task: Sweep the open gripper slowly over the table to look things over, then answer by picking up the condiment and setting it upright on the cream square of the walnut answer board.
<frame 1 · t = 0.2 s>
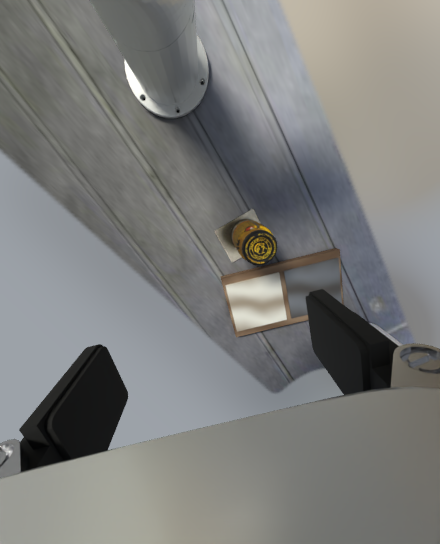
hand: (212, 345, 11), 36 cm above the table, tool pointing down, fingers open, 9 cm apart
condiment: (241, 236, 45), on the table
answer board: (282, 292, 49), on the table
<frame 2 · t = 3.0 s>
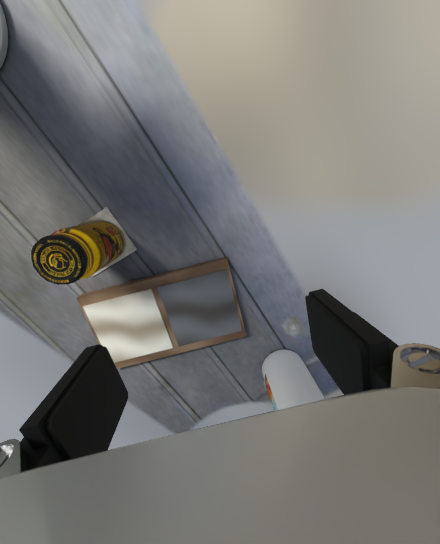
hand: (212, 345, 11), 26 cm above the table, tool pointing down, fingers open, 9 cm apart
milk bottle: (281, 364, 44), on the table
condiment: (100, 242, 35), on the table
answer board: (167, 313, 39), on the table
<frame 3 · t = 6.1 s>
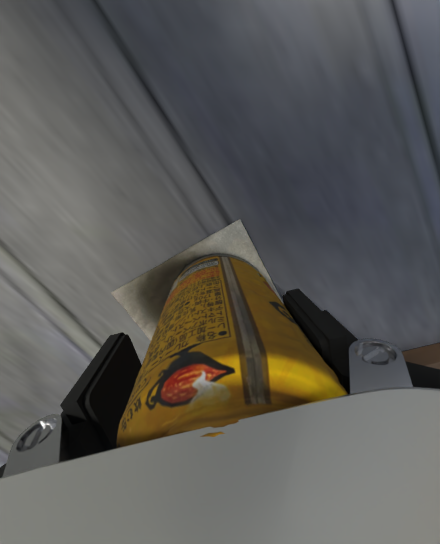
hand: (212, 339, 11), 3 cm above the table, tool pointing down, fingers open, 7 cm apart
condiment: (206, 304, 14), on the table, touching gripper
answer board: (327, 441, 18), on the table
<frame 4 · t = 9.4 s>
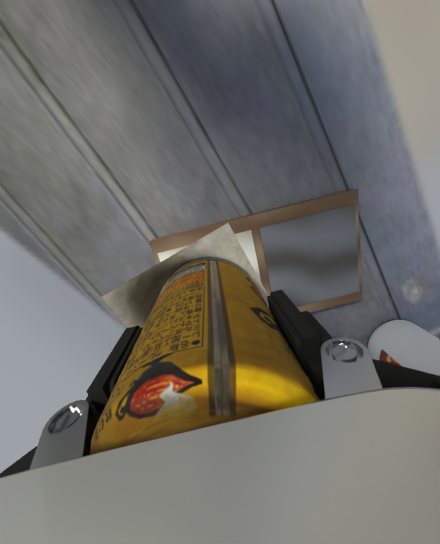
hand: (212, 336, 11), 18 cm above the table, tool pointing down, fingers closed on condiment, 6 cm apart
milk bottle: (389, 339, 35), on the table
condiment: (197, 307, 14), point 15 cm above the table, touching gripper
answer board: (260, 269, 30), on the table
when the fingers open (6 cm above the table, at t = 12.4 s): condiment stays where it is, resting on answer board.
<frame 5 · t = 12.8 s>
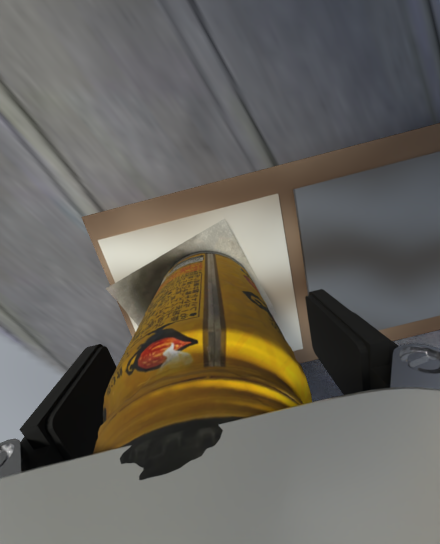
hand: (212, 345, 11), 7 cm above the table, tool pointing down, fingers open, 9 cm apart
condiment: (195, 298, 15), point 2 cm above the table, touching answer board
answer board: (290, 269, 17), on the table
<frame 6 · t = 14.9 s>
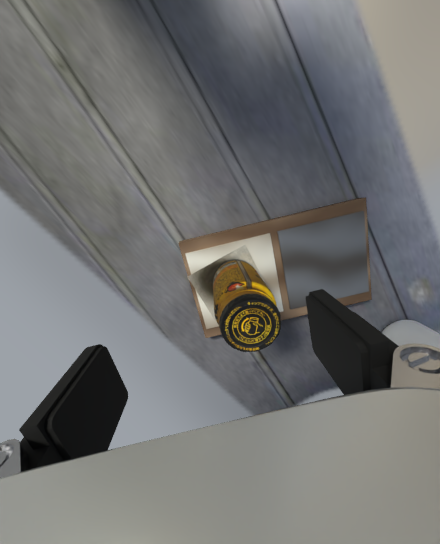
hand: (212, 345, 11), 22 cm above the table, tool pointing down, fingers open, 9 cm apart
milk bottle: (398, 339, 37), on the table
condiment: (229, 283, 31), point 2 cm above the table, touching answer board
answer board: (277, 269, 32), on the table
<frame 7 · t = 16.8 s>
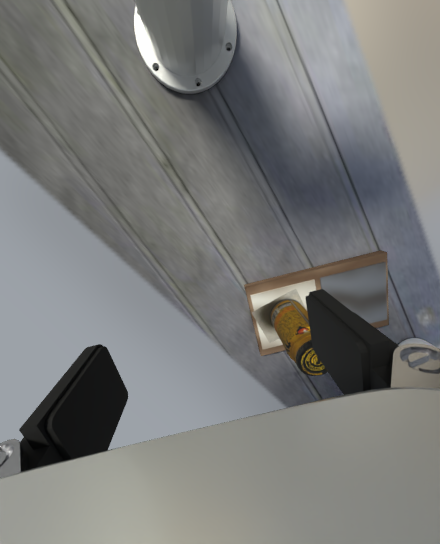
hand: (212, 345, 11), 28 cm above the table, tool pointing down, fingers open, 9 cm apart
condiment: (281, 315, 41), point 2 cm above the table, touching answer board
answer board: (316, 303, 42), on the table
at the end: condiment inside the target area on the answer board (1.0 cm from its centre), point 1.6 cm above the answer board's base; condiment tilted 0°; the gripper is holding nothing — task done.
